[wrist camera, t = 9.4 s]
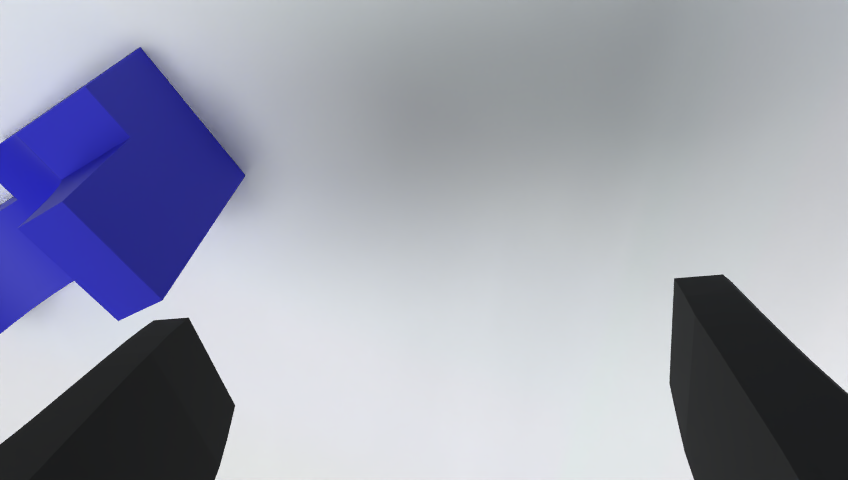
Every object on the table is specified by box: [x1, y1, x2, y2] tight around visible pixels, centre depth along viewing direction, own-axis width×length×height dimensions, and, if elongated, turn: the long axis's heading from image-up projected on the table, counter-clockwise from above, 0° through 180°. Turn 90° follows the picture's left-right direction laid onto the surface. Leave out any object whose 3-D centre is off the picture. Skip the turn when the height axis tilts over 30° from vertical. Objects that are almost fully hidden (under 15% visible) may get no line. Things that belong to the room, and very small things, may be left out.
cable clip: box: [0, 47, 245, 334], centre depth 18 cm, size 12×4×6 cm, turn 121°
